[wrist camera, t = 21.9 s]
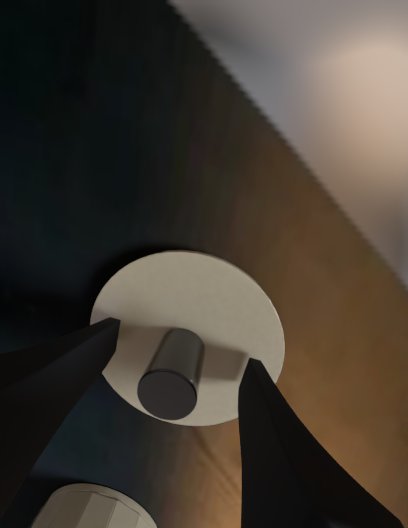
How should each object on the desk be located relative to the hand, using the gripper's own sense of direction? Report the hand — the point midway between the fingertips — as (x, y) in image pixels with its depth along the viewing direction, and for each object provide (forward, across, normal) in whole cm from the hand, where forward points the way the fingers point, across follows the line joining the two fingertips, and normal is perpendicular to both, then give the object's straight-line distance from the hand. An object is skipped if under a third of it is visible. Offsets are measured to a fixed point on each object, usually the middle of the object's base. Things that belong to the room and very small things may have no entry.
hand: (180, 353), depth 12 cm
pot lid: (+1, 0, 0) cm, 1 cm away
